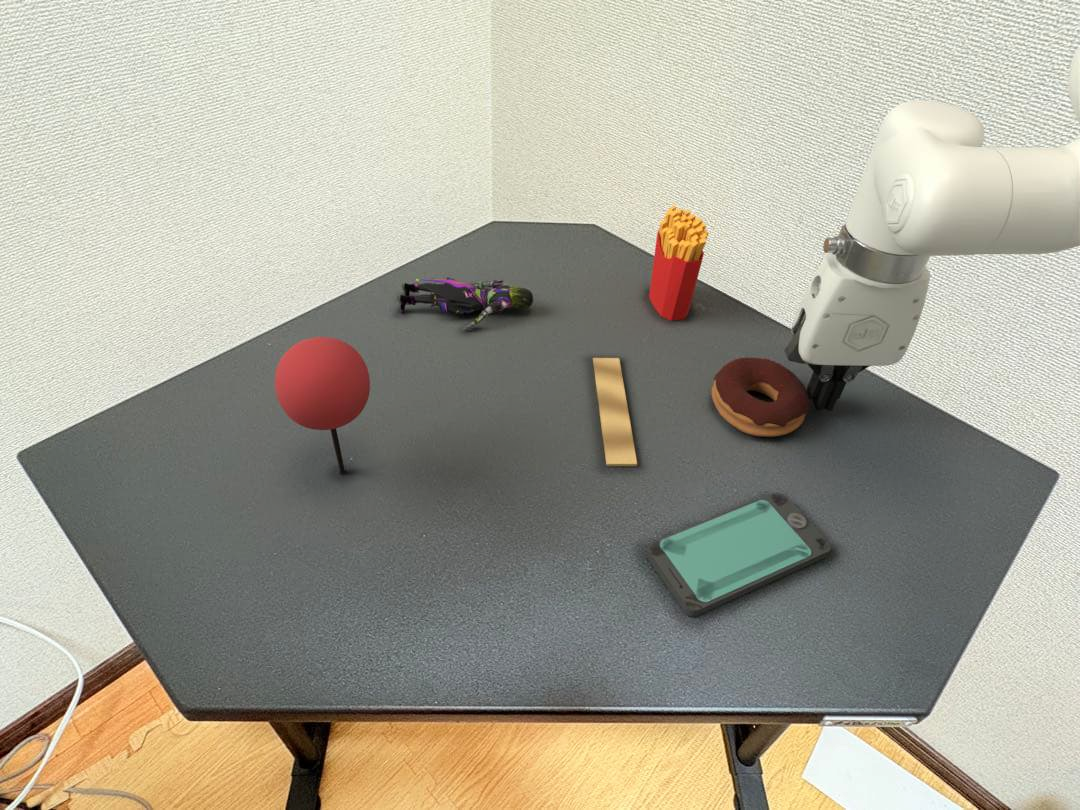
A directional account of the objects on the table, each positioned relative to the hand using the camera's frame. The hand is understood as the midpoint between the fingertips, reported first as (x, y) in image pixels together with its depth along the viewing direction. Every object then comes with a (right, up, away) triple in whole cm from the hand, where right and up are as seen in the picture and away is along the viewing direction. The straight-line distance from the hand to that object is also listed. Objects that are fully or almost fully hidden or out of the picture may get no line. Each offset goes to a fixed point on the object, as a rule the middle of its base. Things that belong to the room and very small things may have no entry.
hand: (819, 401), depth 77 cm
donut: (-7, -1, +1) cm, 7 cm away
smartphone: (-12, -14, -13) cm, 22 cm away
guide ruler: (-22, -1, 0) cm, 22 cm away
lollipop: (-48, -7, -8) cm, 49 cm away
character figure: (-38, +11, +12) cm, 42 cm away
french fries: (-13, +12, +14) cm, 22 cm away
